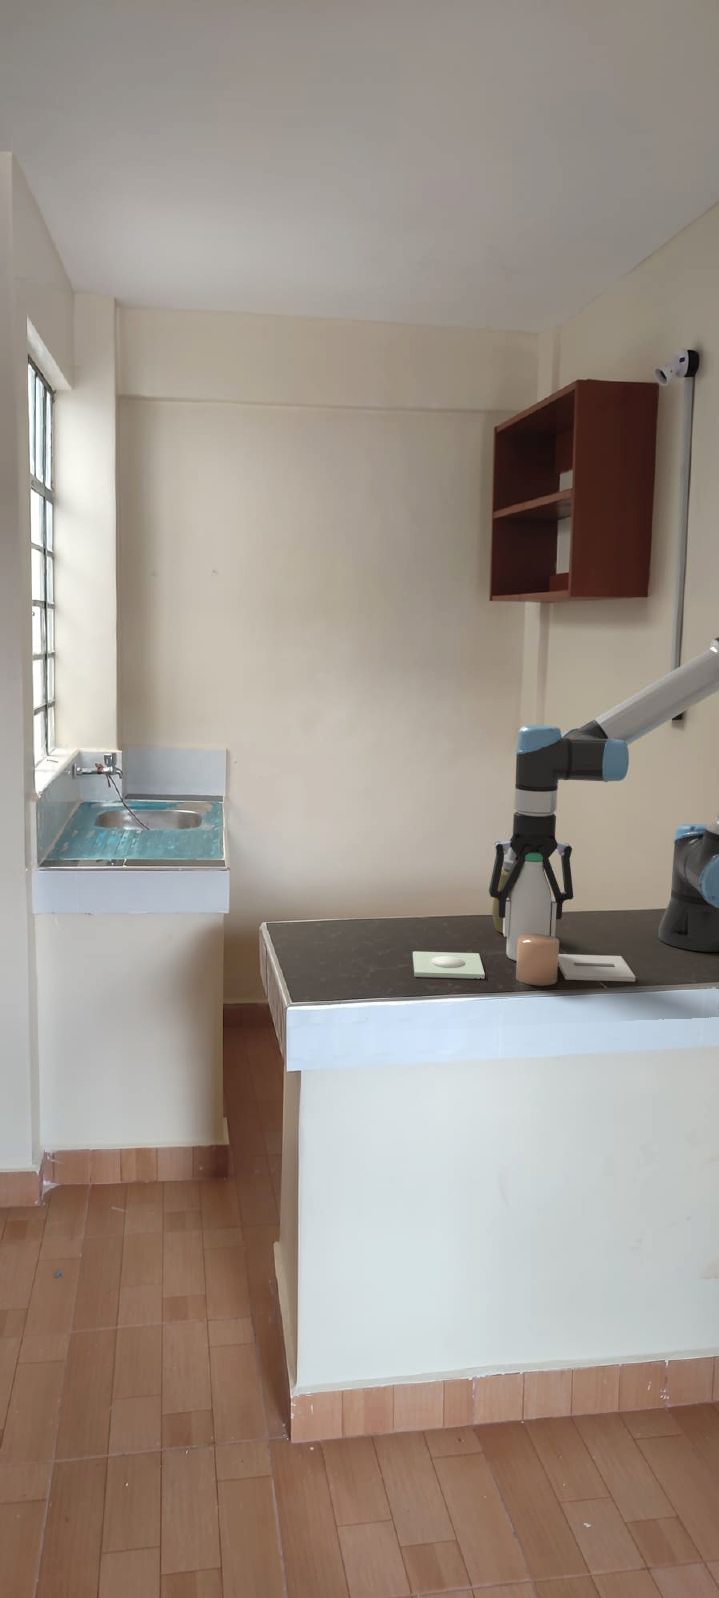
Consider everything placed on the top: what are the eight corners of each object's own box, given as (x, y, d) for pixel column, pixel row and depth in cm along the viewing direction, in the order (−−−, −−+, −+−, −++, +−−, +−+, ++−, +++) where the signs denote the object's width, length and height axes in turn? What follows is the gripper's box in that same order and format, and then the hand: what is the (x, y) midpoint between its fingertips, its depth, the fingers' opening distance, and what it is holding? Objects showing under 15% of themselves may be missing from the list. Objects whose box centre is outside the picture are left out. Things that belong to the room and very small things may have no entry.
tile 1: (478, 957, 206) (478, 952, 206) (484, 978, 195) (484, 973, 194) (412, 955, 207) (412, 950, 206) (414, 976, 195) (414, 971, 195)
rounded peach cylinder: (553, 973, 199) (555, 934, 198) (559, 986, 192) (562, 946, 191) (513, 971, 199) (515, 933, 198) (518, 984, 192) (520, 945, 191)
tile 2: (620, 960, 207) (621, 955, 207) (635, 981, 195) (635, 976, 195) (554, 958, 207) (555, 953, 207) (565, 979, 195) (565, 973, 195)
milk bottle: (547, 965, 203) (553, 856, 200) (504, 961, 204) (509, 853, 201) (549, 953, 210) (555, 847, 207) (507, 949, 212) (512, 844, 208)
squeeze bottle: (508, 923, 230) (513, 836, 227) (540, 932, 224) (545, 843, 221) (482, 930, 224) (486, 841, 221) (514, 939, 218) (518, 848, 215)
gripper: (588, 810, 206) (581, 931, 210) (475, 806, 207) (470, 928, 210) (596, 817, 199) (588, 943, 203) (479, 814, 199) (473, 939, 203)
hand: (528, 935), depth 207 cm, fingers closed on milk bottle, 8 cm apart
